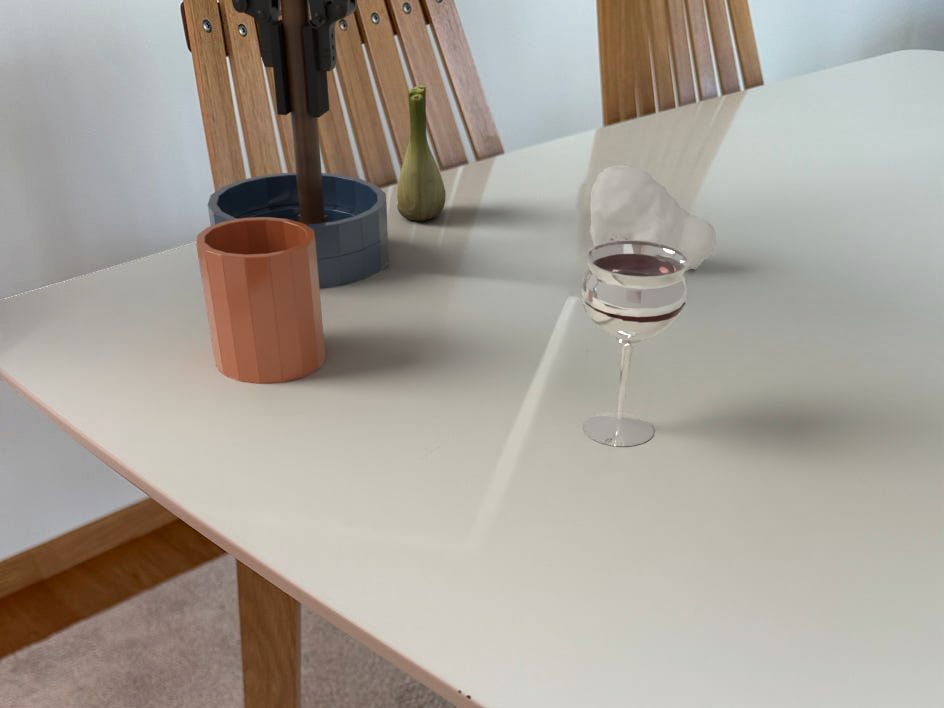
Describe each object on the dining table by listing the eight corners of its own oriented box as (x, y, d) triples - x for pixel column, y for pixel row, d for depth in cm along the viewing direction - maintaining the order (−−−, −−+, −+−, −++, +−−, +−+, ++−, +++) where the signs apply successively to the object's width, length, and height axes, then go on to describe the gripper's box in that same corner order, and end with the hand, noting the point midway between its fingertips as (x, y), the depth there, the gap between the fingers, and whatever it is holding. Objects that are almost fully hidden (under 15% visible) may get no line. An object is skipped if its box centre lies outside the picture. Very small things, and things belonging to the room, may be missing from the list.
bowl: (189, 288, 92) (178, 218, 88) (256, 230, 104) (249, 166, 100) (359, 306, 89) (354, 235, 86) (408, 244, 101) (406, 179, 97)
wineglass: (583, 400, 77) (597, 234, 69) (674, 414, 75) (699, 246, 67) (559, 443, 72) (572, 269, 64) (657, 460, 70) (682, 284, 62)
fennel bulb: (415, 205, 110) (412, 79, 103) (456, 213, 109) (456, 85, 101) (387, 221, 106) (381, 91, 99) (429, 229, 105) (427, 97, 97)
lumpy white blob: (598, 153, 95) (729, 174, 94) (582, 246, 100) (705, 267, 100) (593, 173, 90) (731, 195, 90) (577, 270, 96) (706, 292, 95)
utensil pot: (199, 386, 77) (176, 250, 71) (242, 341, 84) (224, 212, 77) (304, 398, 76) (290, 261, 70) (340, 352, 82) (330, 222, 76)
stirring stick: (297, 251, 95) (273, -5, 82) (305, 243, 96) (283, -10, 83) (324, 254, 94) (304, -4, 81) (332, 246, 96) (314, -8, 83)
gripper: (393, -253, 74) (403, 108, 89) (194, -257, 77) (236, 95, 92) (360, -256, 69) (377, 130, 84) (147, -260, 71) (200, 116, 86)
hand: (303, 111), depth 88 cm, fingers closed on stirring stick, 2 cm apart
